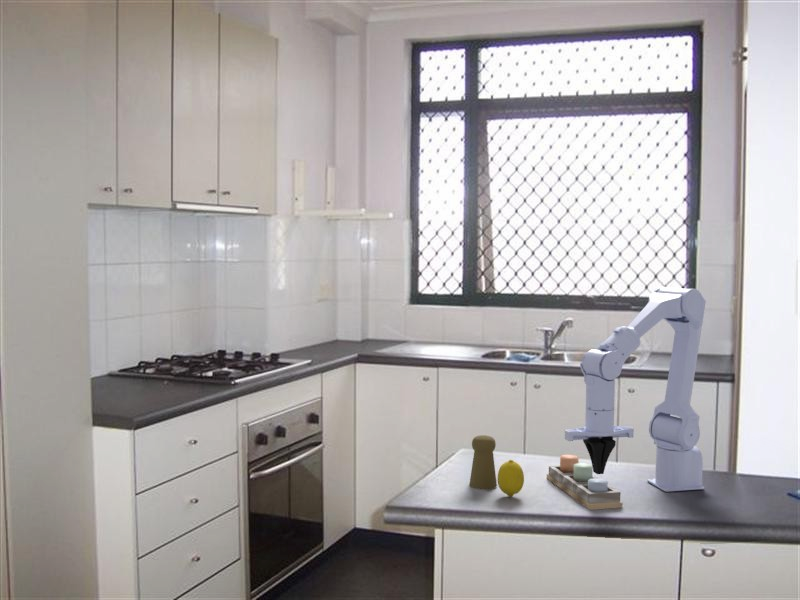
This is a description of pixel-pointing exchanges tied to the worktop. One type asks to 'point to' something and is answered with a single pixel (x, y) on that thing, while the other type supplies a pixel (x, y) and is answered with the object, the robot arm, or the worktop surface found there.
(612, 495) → the panel
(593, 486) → the button slate
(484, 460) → the pepper mill
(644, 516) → the worktop surface
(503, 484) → the lemon
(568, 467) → the button terracotta
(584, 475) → the button sage
